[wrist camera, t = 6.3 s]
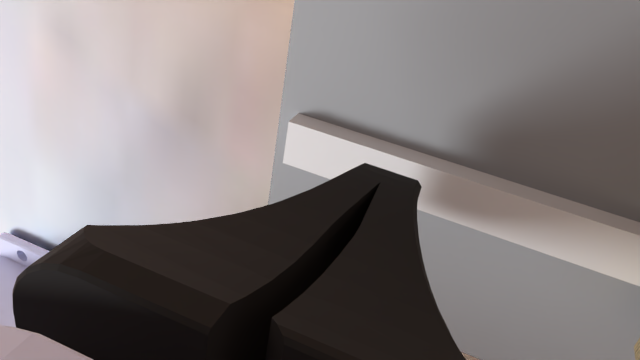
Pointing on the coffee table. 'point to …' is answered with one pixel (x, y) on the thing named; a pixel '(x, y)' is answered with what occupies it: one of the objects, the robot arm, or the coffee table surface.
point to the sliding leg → (637, 350)
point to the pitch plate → (487, 155)
